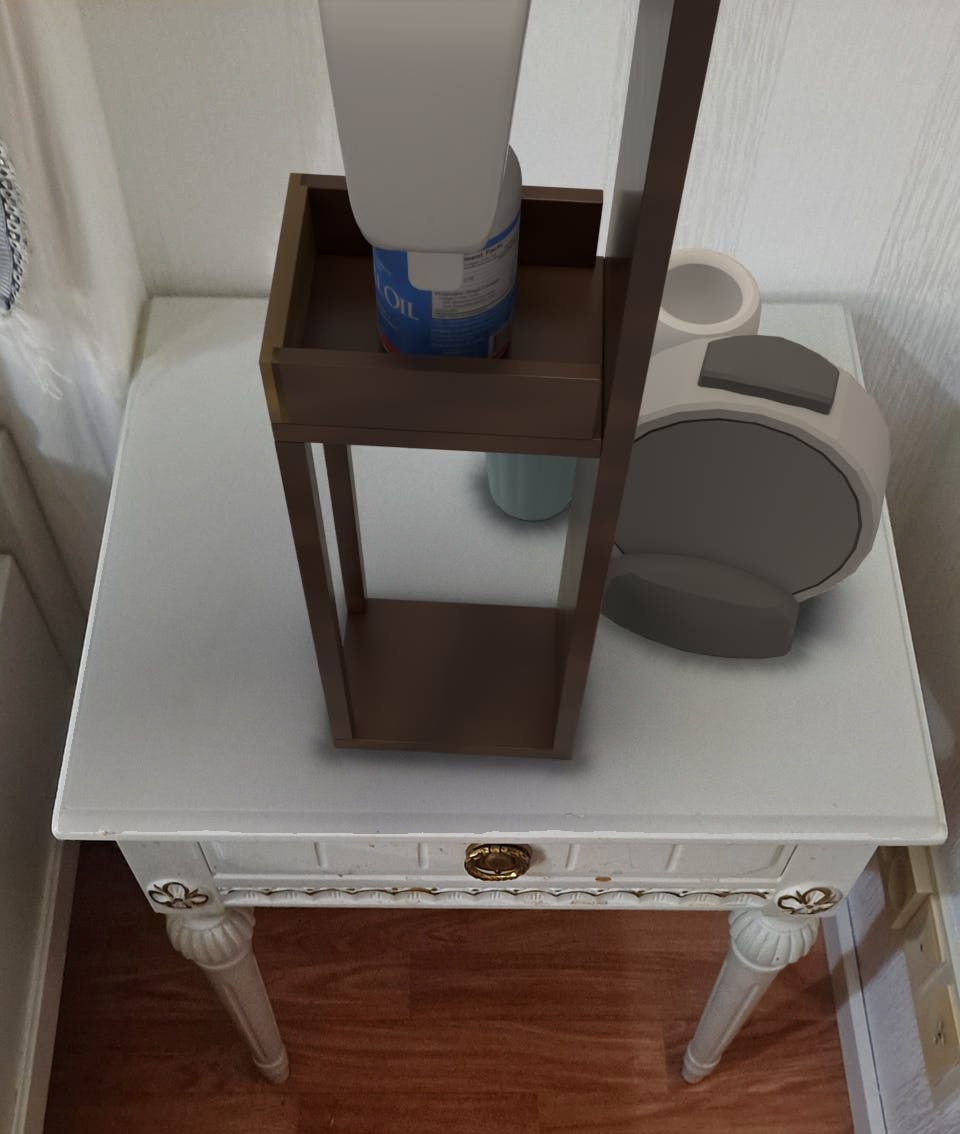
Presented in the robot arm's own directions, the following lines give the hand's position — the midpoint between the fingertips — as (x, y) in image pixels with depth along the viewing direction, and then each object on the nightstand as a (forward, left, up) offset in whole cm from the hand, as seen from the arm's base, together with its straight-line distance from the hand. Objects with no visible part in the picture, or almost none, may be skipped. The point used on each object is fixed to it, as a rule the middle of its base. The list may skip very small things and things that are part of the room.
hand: (446, 178), depth 41 cm
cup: (+5, +15, -33) cm, 37 cm away
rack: (+1, 0, -33) cm, 33 cm away
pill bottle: (0, 0, -7) cm, 7 cm away
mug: (+15, +23, -33) cm, 43 cm away
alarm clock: (+16, +8, -33) cm, 37 cm away
